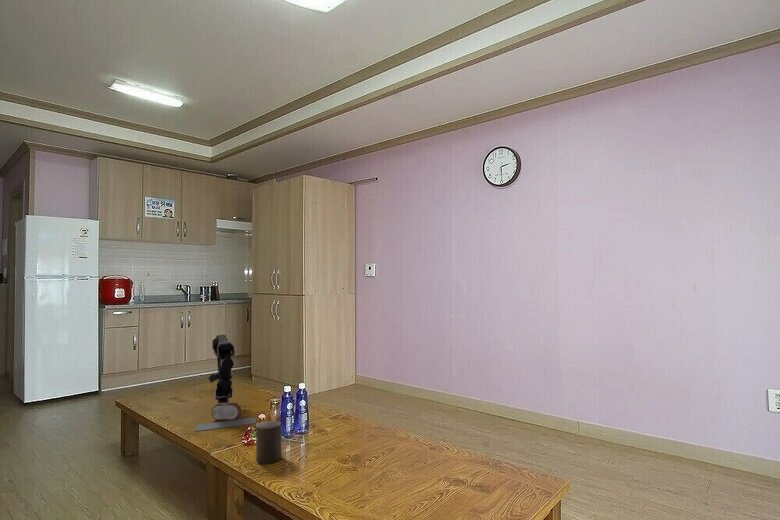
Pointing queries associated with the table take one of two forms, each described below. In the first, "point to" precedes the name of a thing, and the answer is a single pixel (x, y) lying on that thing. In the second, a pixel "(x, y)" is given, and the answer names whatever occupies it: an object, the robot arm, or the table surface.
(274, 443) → the pillar candle
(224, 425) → the mat
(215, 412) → the tin
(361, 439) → the table surface
